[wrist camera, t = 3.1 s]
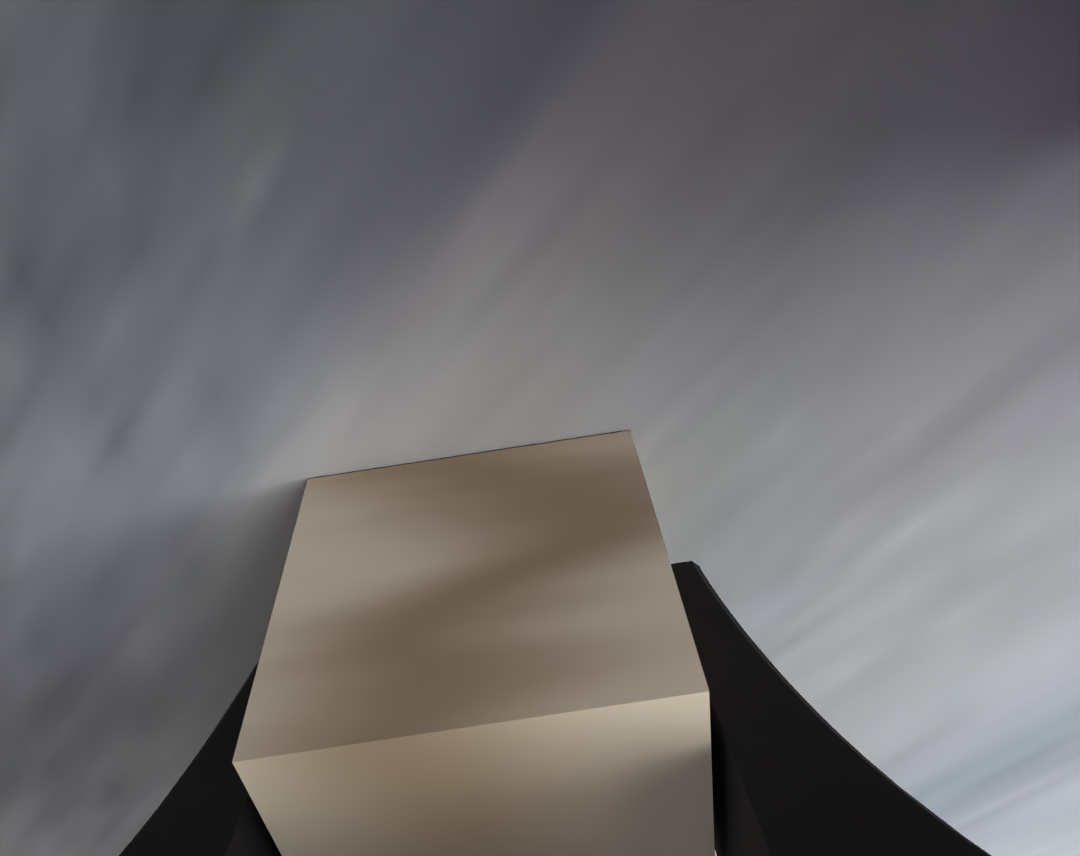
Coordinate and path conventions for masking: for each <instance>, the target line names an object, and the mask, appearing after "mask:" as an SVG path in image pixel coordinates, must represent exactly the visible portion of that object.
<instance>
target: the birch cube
mask: <svg viewBox="0 0 1080 856" xmlns="http://www.w3.org/2000/svg"><path fill="white" fill-rule="evenodd" d="M232 763H233V765H234V767H235V769H236V771H237V773H238V774H239V776H240V778H241V780H242V782H243V784H244V786H245V788H246V789H247V791H248V793H249V795H250V797H251V799H252V801H253V803H254V804H255V806H256V808H257V810H258V812H259V814H260V816H261V818H262V819H263V821H264V823H265V825H266V827H267V829H268V831H269V833H270V834H271V836H272V838H273V840H274V842H275V844H276V846H277V848H278V849H279V851H280V853H281V855H282V856H715V847H714V817H713V787H712V757H711V727H710V697H709V689H708V685H707V682H706V679H705V676H704V672H703V669H702V666H701V662H700V659H699V656H698V652H697V649H696V646H695V643H694V639H693V636H692V633H691V629H690V626H689V623H688V620H687V616H686V613H685V610H684V606H683V603H682V600H681V597H680V593H679V590H678V587H677V583H676V580H675V577H674V574H673V570H672V567H671V564H670V560H669V557H668V554H667V550H666V547H665V544H664V541H663V537H662V534H661V531H660V527H659V524H658V521H657V518H656V514H655V511H654V508H653V504H652V501H651V498H650V495H649V491H648V488H647V485H646V481H645V478H644V475H643V471H642V468H641V465H640V462H639V458H638V455H637V452H636V448H635V445H634V442H633V439H632V435H631V432H630V430H629V431H622V432H616V433H609V434H603V435H596V436H589V437H583V438H576V439H570V440H563V441H556V442H550V443H543V444H537V445H530V446H523V447H517V448H510V449H504V450H497V451H490V452H484V453H477V454H471V455H464V456H457V457H451V458H444V459H438V460H431V461H424V462H418V463H411V464H405V465H398V466H391V467H385V468H378V469H372V470H365V471H358V472H352V473H345V474H339V475H332V476H325V477H319V478H312V479H308V480H307V484H306V488H305V491H304V495H303V499H302V502H301V506H300V510H299V514H298V517H297V521H296V525H295V529H294V532H293V536H292V540H291V544H290V547H289V551H288V555H287V559H286V562H285V566H284V570H283V574H282V577H281V581H280V585H279V589H278V592H277V596H276V600H275V604H274V607H273V611H272V615H271V618H270V622H269V626H268V630H267V633H266V637H265V641H264V645H263V648H262V652H261V656H260V660H259V663H258V667H257V671H256V675H255V678H254V682H253V686H252V690H251V693H250V697H249V701H248V705H247V708H246V712H245V716H244V719H243V723H242V727H241V731H240V734H239V738H238V742H237V746H236V749H235V753H234V757H233V761H232Z"/></svg>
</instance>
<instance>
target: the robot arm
mask: <svg viewBox="0 0 1080 856" xmlns="http://www.w3.org/2000/svg"><path fill="white" fill-rule="evenodd" d="M671 567H672V570H673V574H674V577H675V580H676V583H677V587H678V590H679V593H680V597H681V600H682V603H683V606H684V610H685V613H686V616H687V620H688V623H689V626H690V629H691V633H692V636H693V639H694V643H695V646H696V649H697V652H698V656H699V659H700V662H701V666H702V669H703V672H704V676H705V679H706V682H707V685H708V689H709V697H710V727H711V757H712V787H713V817H714V847H715V851H716V854H717V856H991V855H990V854H988V853H987V852H985V851H984V850H982V849H981V848H980V847H978V846H977V845H975V844H974V843H972V842H971V841H970V840H968V839H967V838H965V837H964V836H963V835H961V834H960V833H959V832H957V831H956V830H955V829H953V828H952V827H951V826H950V825H948V824H947V823H946V822H944V821H943V820H942V819H941V818H939V817H938V816H937V815H935V814H934V813H933V812H931V811H930V810H929V809H928V808H926V807H925V806H924V805H922V804H921V803H920V802H918V801H917V800H916V799H915V798H913V797H912V796H911V795H909V794H908V793H907V792H905V791H904V790H903V789H902V788H900V787H899V786H898V785H897V784H896V783H894V782H893V781H892V780H891V779H890V778H889V777H887V776H886V775H885V774H884V773H883V772H882V771H880V770H879V769H878V768H877V767H876V766H875V765H873V764H872V763H871V762H870V761H869V760H868V759H866V758H865V757H864V756H863V755H862V754H861V753H860V752H859V751H858V750H856V749H855V748H854V747H853V746H852V745H851V744H850V743H849V742H848V741H847V740H845V739H844V738H843V737H842V736H841V735H840V734H839V733H838V732H837V731H836V730H835V729H834V728H833V727H832V726H831V725H830V724H829V723H828V722H827V721H826V720H825V719H824V718H823V717H822V716H821V715H820V714H819V713H818V712H817V711H816V710H815V709H814V708H813V707H812V706H811V705H810V704H809V703H808V702H807V701H806V700H805V699H804V698H803V697H802V696H801V695H800V694H799V693H798V692H797V691H796V690H795V689H794V688H793V686H792V685H791V684H790V683H789V682H788V681H787V680H786V679H785V678H784V677H783V675H782V674H781V673H780V672H779V671H778V670H777V669H776V668H775V666H774V665H773V664H772V663H771V662H770V661H769V659H768V658H767V657H766V656H765V655H764V654H763V652H762V651H761V650H760V649H759V648H758V646H757V645H756V644H755V643H754V642H753V641H752V639H751V638H750V637H749V636H748V634H747V633H746V632H745V631H744V629H743V628H742V627H741V626H740V624H739V623H738V622H737V621H736V619H735V618H734V617H733V615H732V614H731V613H730V611H729V610H728V609H727V607H726V606H725V605H724V603H723V602H722V600H721V599H720V598H719V596H718V595H717V593H716V592H715V590H714V589H713V588H712V586H711V585H710V583H709V581H708V580H707V578H706V577H705V575H704V574H703V572H702V570H701V569H700V567H699V566H698V565H697V564H695V563H694V562H692V561H689V562H682V563H675V564H671ZM259 660H260V659H259ZM258 663H259V661H258ZM258 663H257V664H256V666H255V667H254V669H253V671H252V672H251V674H250V675H249V677H248V679H247V680H246V682H245V683H244V685H243V687H242V688H241V690H240V691H239V693H238V694H237V696H236V698H235V699H234V701H233V702H232V704H231V705H230V707H229V708H228V710H227V711H226V713H225V714H224V716H223V717H222V719H221V720H220V722H219V723H218V725H217V726H216V728H215V729H214V731H213V732H212V734H211V735H210V737H209V738H208V740H207V741H206V743H205V744H204V746H203V747H202V749H201V750H200V751H199V753H198V754H197V756H196V757H195V758H194V760H193V761H192V762H191V764H190V765H189V767H188V768H187V769H186V771H185V772H184V773H183V775H182V776H181V778H180V779H179V780H178V782H177V783H176V784H175V786H174V787H173V788H172V790H171V791H170V793H169V794H168V795H167V797H166V798H165V799H164V801H163V802H162V803H161V805H160V806H159V807H158V808H157V810H156V811H155V812H154V814H153V815H152V816H151V817H150V819H149V820H148V821H147V822H146V824H145V825H144V826H143V827H142V829H141V830H140V831H139V832H138V834H137V835H136V836H135V837H134V838H133V840H132V841H131V842H130V843H129V844H128V846H127V847H126V848H125V849H124V850H123V851H122V853H121V854H120V855H119V856H282V855H281V853H280V851H279V849H278V848H277V846H276V844H275V842H274V840H273V838H272V836H271V834H270V833H269V831H268V829H267V827H266V825H265V823H264V821H263V819H262V818H261V816H260V814H259V812H258V810H257V808H256V806H255V804H254V803H253V801H252V799H251V797H250V795H249V793H248V791H247V789H246V788H245V786H244V784H243V782H242V780H241V778H240V776H239V774H238V773H237V771H236V769H235V767H234V765H233V763H232V761H233V757H234V753H235V749H236V746H237V742H238V738H239V734H240V731H241V727H242V723H243V719H244V716H245V712H246V708H247V705H248V701H249V697H250V693H251V690H252V686H253V682H254V678H255V675H256V671H257V667H258Z"/></svg>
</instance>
